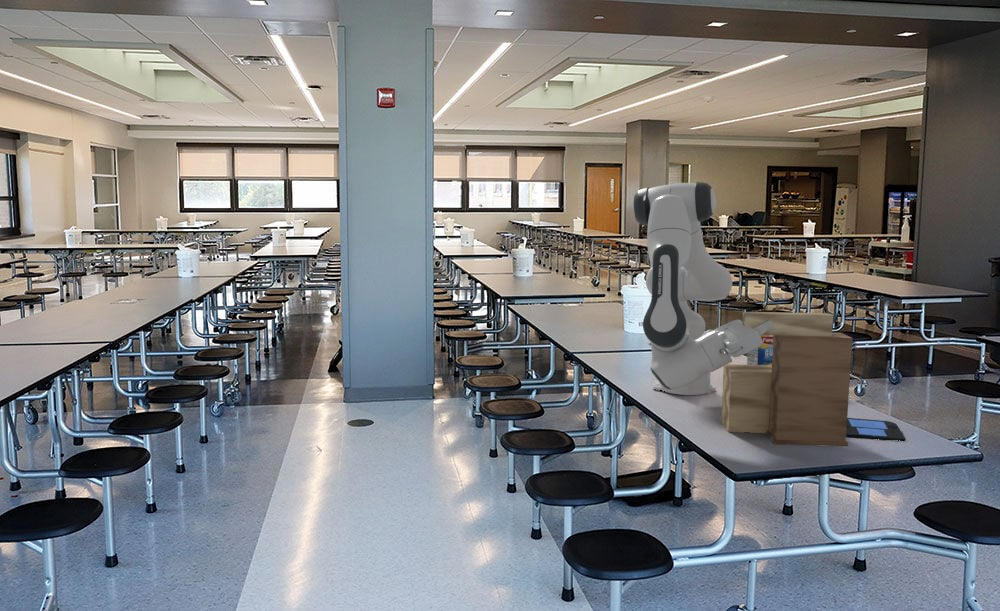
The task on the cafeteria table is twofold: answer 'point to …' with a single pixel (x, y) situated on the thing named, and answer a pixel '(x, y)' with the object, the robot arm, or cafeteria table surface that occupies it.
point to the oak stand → (746, 398)
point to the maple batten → (791, 323)
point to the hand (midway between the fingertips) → (768, 321)
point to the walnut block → (810, 390)
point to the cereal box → (762, 352)
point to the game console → (873, 429)
